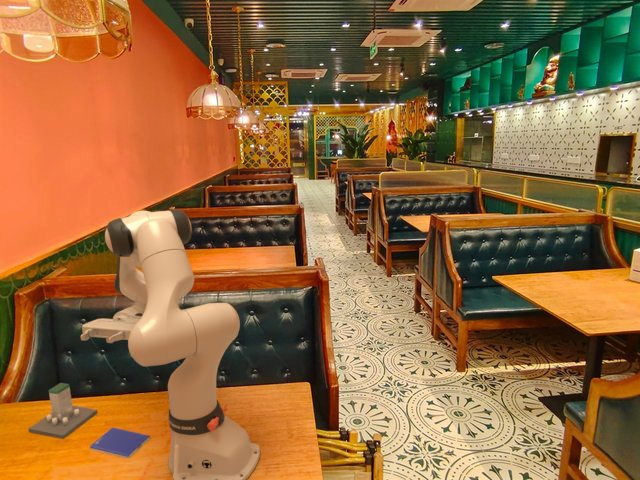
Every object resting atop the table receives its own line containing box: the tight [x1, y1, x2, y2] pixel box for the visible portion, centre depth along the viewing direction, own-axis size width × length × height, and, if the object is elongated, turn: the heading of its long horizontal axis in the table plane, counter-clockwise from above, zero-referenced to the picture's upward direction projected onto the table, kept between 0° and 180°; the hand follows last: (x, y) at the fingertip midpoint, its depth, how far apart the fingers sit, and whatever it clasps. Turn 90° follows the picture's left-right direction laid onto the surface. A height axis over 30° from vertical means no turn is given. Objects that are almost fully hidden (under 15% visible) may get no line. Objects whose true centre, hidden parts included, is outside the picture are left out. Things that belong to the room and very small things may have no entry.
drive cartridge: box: [48, 382, 74, 424], centre depth 121 cm, size 3×4×10 cm
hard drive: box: [89, 427, 151, 460], centre depth 113 cm, size 2×8×12 cm
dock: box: [28, 405, 98, 440], centre depth 122 cm, size 12×12×3 cm
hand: (95, 339), depth 129 cm, fingers open, 8 cm apart
